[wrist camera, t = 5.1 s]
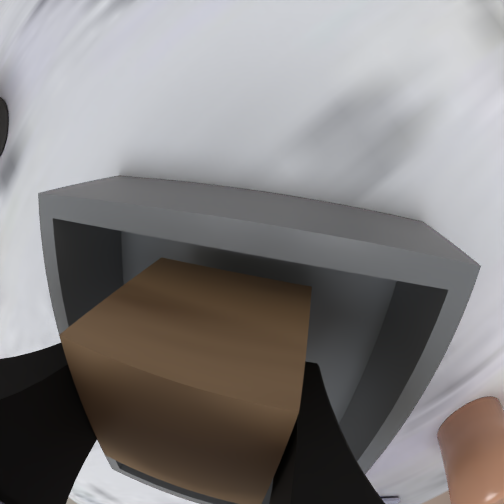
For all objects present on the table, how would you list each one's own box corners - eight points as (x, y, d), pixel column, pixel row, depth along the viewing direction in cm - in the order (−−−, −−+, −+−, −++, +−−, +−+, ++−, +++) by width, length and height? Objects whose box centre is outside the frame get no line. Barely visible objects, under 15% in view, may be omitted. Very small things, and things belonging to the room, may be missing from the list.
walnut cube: (284, 398, 11) (259, 508, 6) (165, 368, 12) (105, 455, 7) (311, 286, 9) (298, 411, 4) (161, 257, 10) (59, 334, 5)
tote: (322, 467, 17) (315, 524, 12) (142, 422, 19) (112, 468, 14) (423, 222, 11) (480, 265, 6) (118, 175, 13) (38, 193, 8)
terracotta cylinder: (475, 441, 14) (494, 513, 7) (424, 446, 14) (437, 528, 8) (511, 395, 12) (545, 469, 5) (461, 397, 13) (491, 489, 6)
